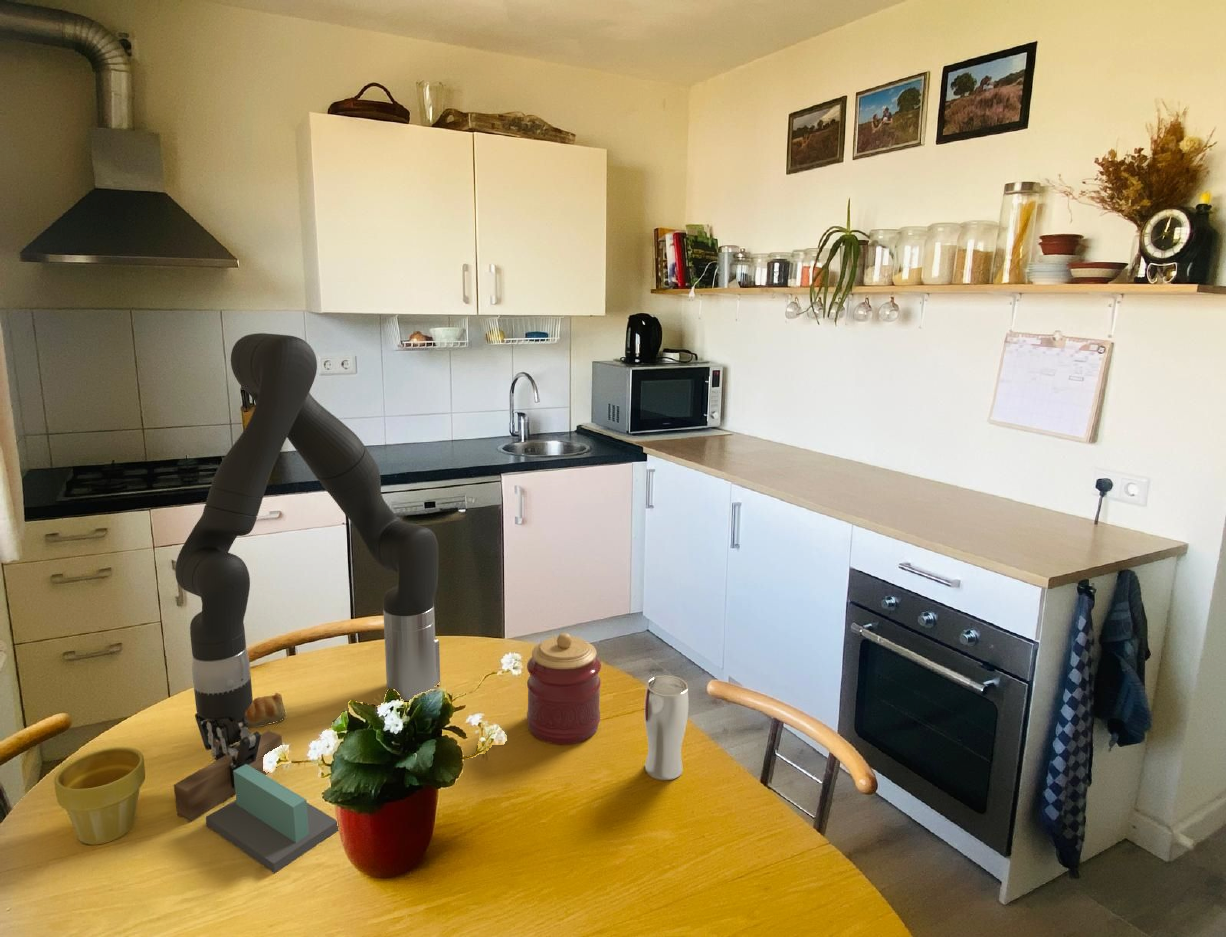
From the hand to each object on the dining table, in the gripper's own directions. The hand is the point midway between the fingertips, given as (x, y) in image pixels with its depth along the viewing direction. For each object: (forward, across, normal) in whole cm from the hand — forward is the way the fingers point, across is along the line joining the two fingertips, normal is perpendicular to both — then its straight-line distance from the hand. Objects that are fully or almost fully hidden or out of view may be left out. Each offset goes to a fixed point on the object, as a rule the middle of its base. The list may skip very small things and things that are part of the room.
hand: (232, 780), depth 116 cm
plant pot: (+1, +6, +15) cm, 16 cm away
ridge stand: (+1, -13, +2) cm, 13 cm away
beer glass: (+1, -52, -42) cm, 67 cm away
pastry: (+2, +14, -14) cm, 20 cm away
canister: (+1, -31, -43) cm, 53 cm away
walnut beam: (+1, 0, 0) cm, 1 cm away
